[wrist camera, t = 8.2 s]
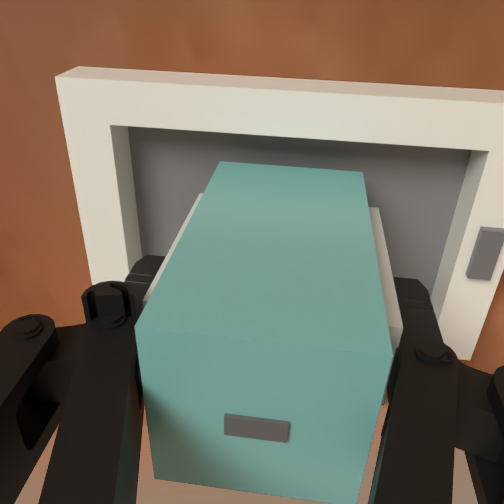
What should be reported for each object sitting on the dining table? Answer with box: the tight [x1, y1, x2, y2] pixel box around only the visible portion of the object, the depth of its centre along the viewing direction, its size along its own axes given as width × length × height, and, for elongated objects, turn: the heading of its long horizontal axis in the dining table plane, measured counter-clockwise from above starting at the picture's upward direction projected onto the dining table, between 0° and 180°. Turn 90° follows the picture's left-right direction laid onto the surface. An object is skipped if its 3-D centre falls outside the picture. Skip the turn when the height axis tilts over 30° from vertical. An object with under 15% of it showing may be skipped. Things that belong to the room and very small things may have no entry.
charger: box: [134, 161, 393, 504], centre depth 14 cm, size 5×5×9 cm
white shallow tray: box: [55, 66, 504, 360], centre depth 19 cm, size 16×10×2 cm, turn 88°
